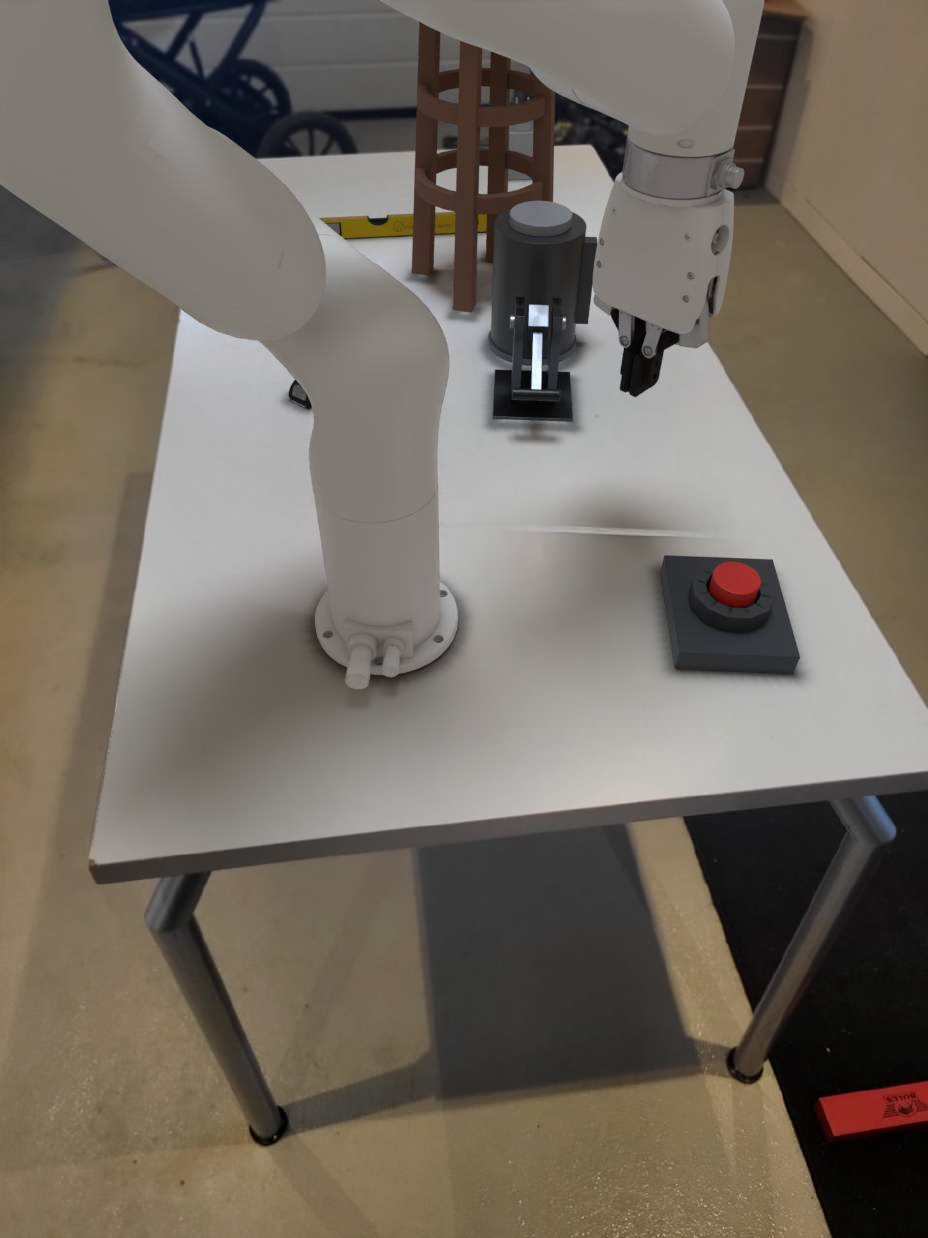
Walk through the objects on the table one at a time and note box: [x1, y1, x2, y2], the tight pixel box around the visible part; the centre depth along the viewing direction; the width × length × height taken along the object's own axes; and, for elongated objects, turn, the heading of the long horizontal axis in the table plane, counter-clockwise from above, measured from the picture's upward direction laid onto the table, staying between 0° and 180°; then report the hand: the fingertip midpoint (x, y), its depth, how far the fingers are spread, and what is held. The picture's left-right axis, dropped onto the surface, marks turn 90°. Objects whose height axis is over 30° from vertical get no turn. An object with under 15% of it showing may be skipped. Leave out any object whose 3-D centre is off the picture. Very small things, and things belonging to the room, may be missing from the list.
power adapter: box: [508, 96, 533, 181], centre depth 146 cm, size 3×5×12 cm, turn 96°
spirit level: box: [318, 211, 487, 239], centre depth 132 cm, size 33×1×3 cm, turn 97°
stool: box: [411, 21, 556, 313], centre depth 110 cm, size 20×35×20 cm
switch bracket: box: [492, 297, 574, 423], centre depth 99 cm, size 10×9×12 cm
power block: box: [659, 554, 801, 675], centre depth 78 cm, size 12×10×4 cm
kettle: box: [487, 201, 598, 367], centre depth 106 cm, size 13×12×17 cm
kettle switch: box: [512, 305, 560, 401], centre depth 94 cm, size 11×5×2 cm, turn 177°
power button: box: [709, 562, 761, 608], centre depth 76 cm, size 4×4×2 cm
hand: (637, 387), depth 77 cm, fingers closed
